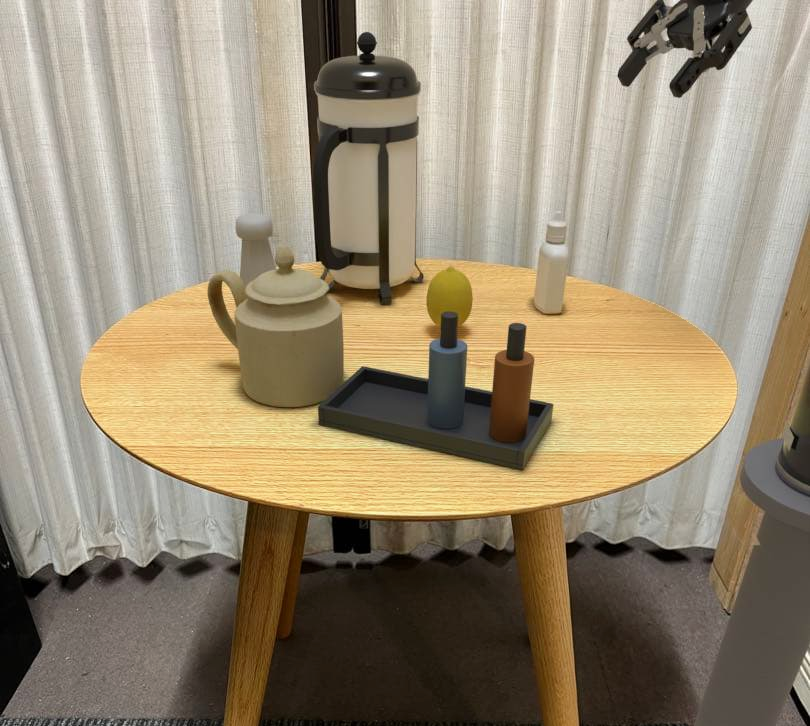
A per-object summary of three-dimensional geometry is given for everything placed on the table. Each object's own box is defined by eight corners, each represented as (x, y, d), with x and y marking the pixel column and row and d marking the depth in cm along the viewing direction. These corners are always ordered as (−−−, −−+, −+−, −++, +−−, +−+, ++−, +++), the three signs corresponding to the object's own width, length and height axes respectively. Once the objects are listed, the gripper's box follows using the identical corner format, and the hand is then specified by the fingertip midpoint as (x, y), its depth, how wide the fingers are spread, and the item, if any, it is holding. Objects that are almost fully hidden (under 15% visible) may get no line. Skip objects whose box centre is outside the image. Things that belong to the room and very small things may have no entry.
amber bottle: (530, 429, 81) (542, 321, 75) (519, 446, 78) (531, 336, 72) (495, 421, 82) (504, 315, 76) (483, 438, 80) (492, 329, 73)
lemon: (441, 344, 98) (443, 278, 94) (417, 328, 102) (418, 263, 97) (479, 335, 101) (483, 270, 96) (454, 320, 104) (457, 256, 100)
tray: (551, 421, 83) (553, 403, 82) (522, 470, 76) (524, 451, 75) (362, 382, 90) (362, 365, 89) (318, 424, 83) (317, 406, 81)
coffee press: (301, 272, 118) (285, 26, 100) (410, 264, 121) (413, 24, 103) (321, 318, 104) (305, 43, 86) (442, 308, 108) (452, 40, 89)
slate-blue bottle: (468, 416, 83) (474, 310, 77) (455, 432, 81) (461, 324, 74) (435, 409, 84) (438, 304, 78) (421, 424, 82) (424, 318, 75)
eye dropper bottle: (525, 311, 107) (535, 215, 100) (537, 297, 111) (547, 204, 104) (558, 317, 105) (570, 220, 98) (569, 302, 110) (581, 208, 102)
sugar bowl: (195, 405, 86) (171, 260, 77) (221, 359, 94) (203, 225, 85) (337, 410, 85) (331, 264, 76) (350, 364, 94) (346, 229, 85)
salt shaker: (296, 320, 104) (288, 213, 96) (267, 336, 100) (257, 225, 92) (260, 311, 106) (249, 205, 98) (230, 325, 102) (217, 217, 94)
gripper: (679, -62, 98) (592, 55, 100) (779, -58, 89) (681, 71, 91) (700, -10, 104) (617, 100, 106) (796, -1, 94) (703, 120, 96)
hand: (647, 87), depth 98 cm, fingers open, 8 cm apart
